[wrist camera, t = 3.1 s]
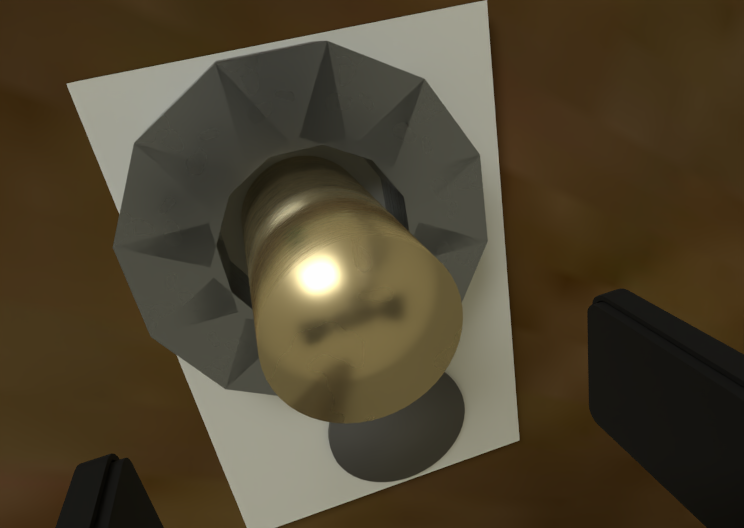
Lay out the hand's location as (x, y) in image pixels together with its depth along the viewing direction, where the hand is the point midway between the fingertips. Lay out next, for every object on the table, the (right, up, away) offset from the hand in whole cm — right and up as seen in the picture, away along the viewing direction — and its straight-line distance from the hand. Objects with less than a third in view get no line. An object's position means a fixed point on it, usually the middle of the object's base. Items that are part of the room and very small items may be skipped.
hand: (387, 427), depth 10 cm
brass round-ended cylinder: (-3, +5, +11) cm, 12 cm away
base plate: (-1, +2, +14) cm, 14 cm away
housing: (-3, +5, +11) cm, 12 cm away
